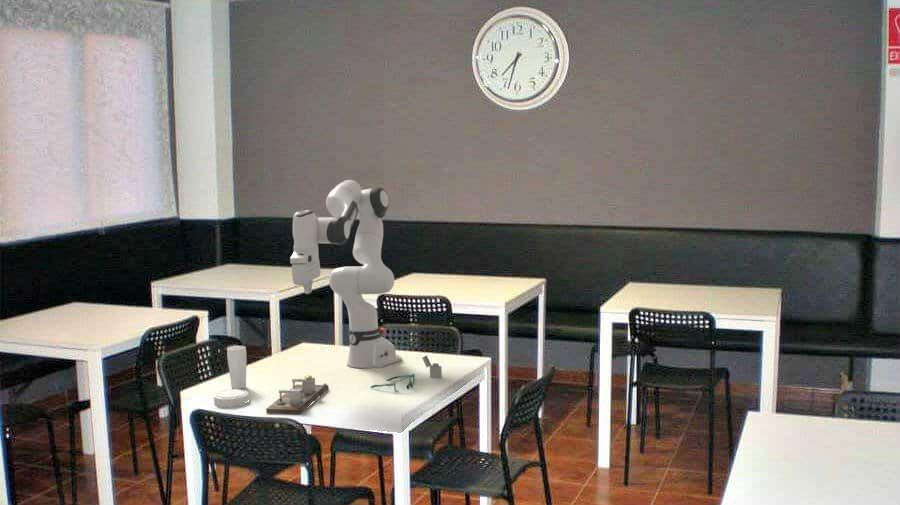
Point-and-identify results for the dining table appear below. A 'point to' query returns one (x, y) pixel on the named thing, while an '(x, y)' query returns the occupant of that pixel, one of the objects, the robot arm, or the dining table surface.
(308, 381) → the slider leg
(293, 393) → the fixed leg
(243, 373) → the drinking glass
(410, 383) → the teal eyeglasses
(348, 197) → the robot arm
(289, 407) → the gauge board
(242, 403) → the white round disc
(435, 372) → the lighter
